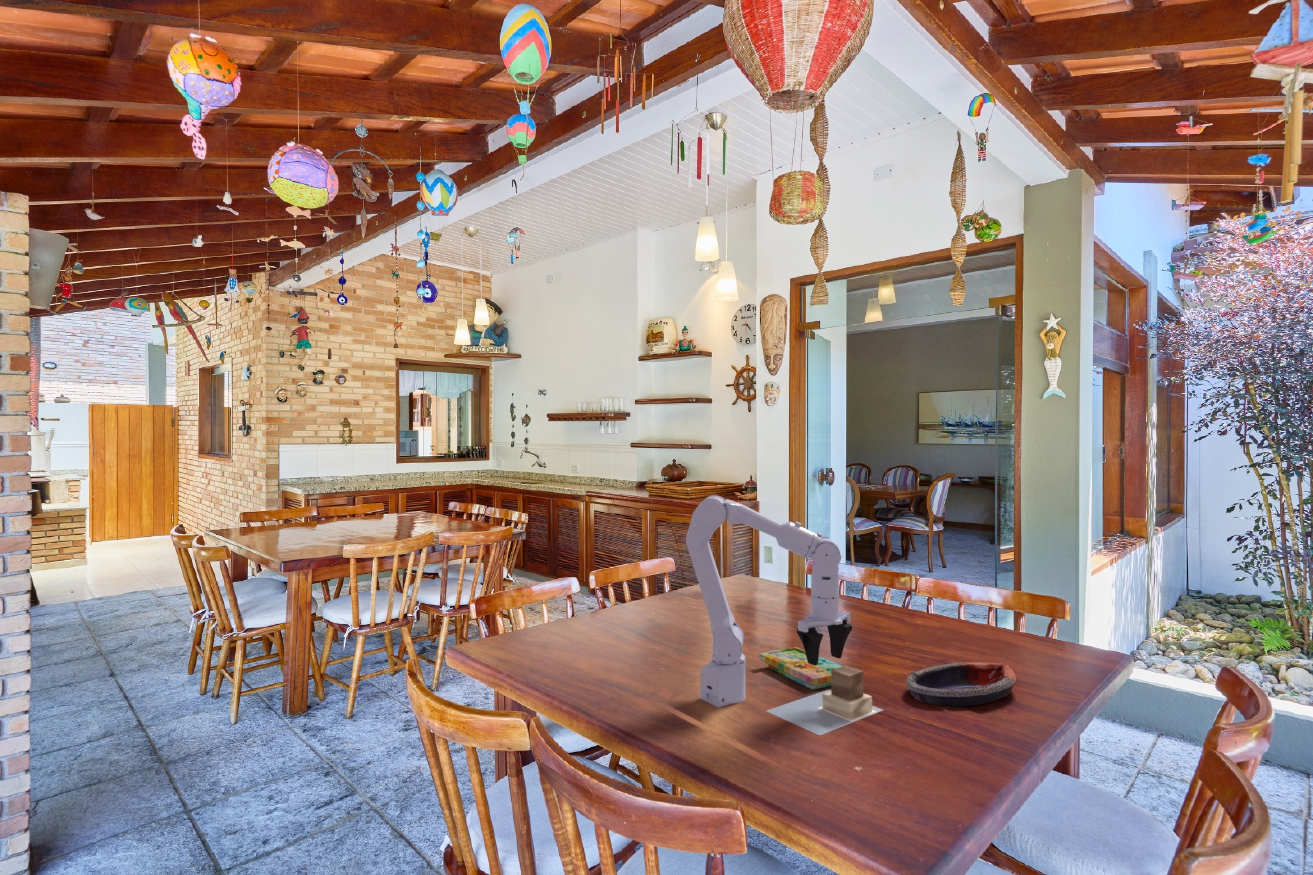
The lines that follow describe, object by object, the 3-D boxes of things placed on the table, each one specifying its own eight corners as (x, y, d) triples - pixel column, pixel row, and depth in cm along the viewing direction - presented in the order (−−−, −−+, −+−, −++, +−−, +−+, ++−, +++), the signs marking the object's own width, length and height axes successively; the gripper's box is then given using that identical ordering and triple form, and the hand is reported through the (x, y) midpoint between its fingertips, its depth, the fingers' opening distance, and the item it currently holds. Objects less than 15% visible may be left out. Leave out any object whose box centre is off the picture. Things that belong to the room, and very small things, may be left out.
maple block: (850, 719, 130) (850, 704, 130) (822, 708, 135) (822, 693, 135) (872, 711, 134) (872, 696, 134) (844, 700, 139) (843, 686, 140)
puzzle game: (812, 675, 145) (758, 649, 162) (812, 696, 145) (758, 668, 162) (852, 667, 150) (796, 643, 168) (852, 687, 150) (796, 661, 168)
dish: (885, 693, 146) (885, 670, 146) (983, 674, 159) (983, 653, 159) (941, 720, 132) (941, 695, 132) (1044, 696, 145) (1043, 673, 145)
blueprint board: (819, 739, 123) (819, 735, 123) (765, 714, 134) (765, 710, 134) (883, 713, 135) (883, 709, 135) (828, 693, 146) (828, 689, 146)
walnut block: (849, 701, 131) (849, 676, 131) (831, 694, 135) (831, 669, 135) (863, 696, 134) (863, 671, 134) (845, 689, 138) (845, 665, 138)
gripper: (817, 604, 131) (816, 672, 131) (862, 595, 139) (862, 659, 139) (790, 597, 136) (789, 663, 136) (835, 589, 145) (835, 650, 145)
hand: (824, 660), depth 138 cm, fingers open, 7 cm apart
